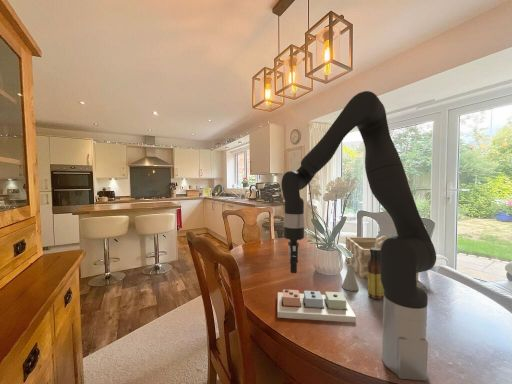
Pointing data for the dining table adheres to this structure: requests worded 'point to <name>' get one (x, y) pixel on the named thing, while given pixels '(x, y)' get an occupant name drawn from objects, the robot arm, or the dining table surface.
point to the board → (315, 311)
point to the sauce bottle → (375, 275)
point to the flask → (350, 279)
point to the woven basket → (361, 253)
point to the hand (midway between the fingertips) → (293, 268)
